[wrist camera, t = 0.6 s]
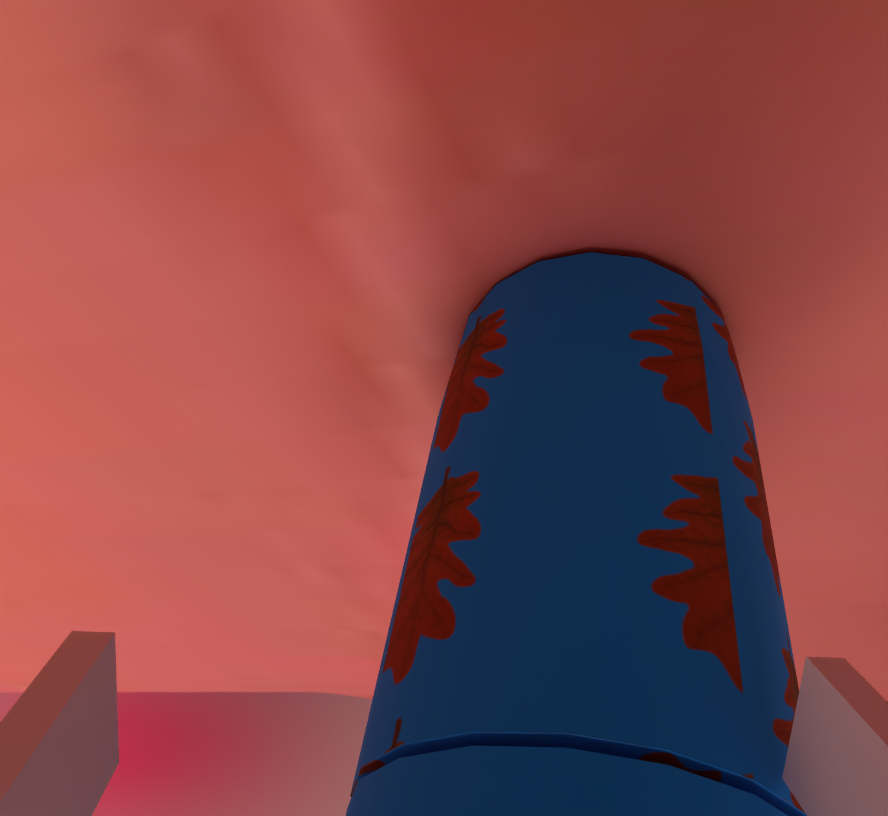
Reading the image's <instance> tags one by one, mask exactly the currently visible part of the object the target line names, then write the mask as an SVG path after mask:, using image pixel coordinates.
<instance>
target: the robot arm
mask: <svg viewBox="0 0 888 816" xmlns="http://www.w3.org/2000/svg"><path fill="white" fill-rule="evenodd" d="M118 763H119V748H118V717H117V684H116V652H115V633H113V632H84V631H72V632H71V633H70V634H69V635H68V637H67V638H66V639H65V641H64V642H63V643H62V644H61V646H60V647H59V648H58V650H57V651H56V652H55V653H54V655H53V656H52V657H51V658H50V660H49V661H48V662H47V664H46V665H45V666H44V667H43V669H42V670H41V671H40V672H39V674H38V675H37V676H36V678H35V679H34V680H33V681H32V683H31V684H30V685H29V686H28V688H27V689H26V690H25V692H24V693H23V694H22V696H21V697H20V698H19V699H18V700H17V702H16V703H15V704H14V706H13V707H12V708H11V709H10V711H9V712H8V713H7V715H6V716H5V717H4V718H3V720H2V721H1V722H0V816H92V814H93V812H94V810H95V808H96V806H97V804H98V802H99V800H100V798H101V796H102V794H103V793H104V790H105V788H106V787H107V785H108V783H109V781H110V779H111V777H112V775H113V773H114V771H115V769H116V767H117V765H118ZM782 779H783V780H784V782H785V783H786V785H787V786H788V788H789V789H790V791H791V792H792V794H793V795H794V797H795V798H796V800H797V801H798V803H799V804H800V806H801V807H802V809H803V810H804V812H805V813H806V815H807V816H888V702H887V701H886V700H885V699H884V698H883V697H882V696H881V695H880V694H879V693H878V692H877V691H876V690H875V689H874V688H873V687H872V686H871V685H870V684H869V683H868V682H867V681H866V680H865V679H864V678H863V677H862V676H861V675H860V674H859V673H858V672H857V671H856V670H855V669H854V668H853V667H852V666H851V665H850V663H849V662H848V661H847V660H846V659H845V658H829V657H806V660H805V665H804V670H803V675H802V680H801V686H800V691H799V696H798V701H797V706H796V711H795V716H794V721H793V726H792V731H791V736H790V741H789V746H788V752H787V757H786V762H785V767H784V772H783V777H782Z"/></svg>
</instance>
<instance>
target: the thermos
mask: <svg viewBox="0 0 888 816" xmlns="http://www.w3.org/2000/svg"><path fill="white" fill-rule="evenodd" d="M798 696H799V688H798V682H797V677H796V671H795V665H794V659H793V653H792V647H791V641H790V636H789V630H788V624H787V618H786V612H785V606H784V600H783V595H782V589H781V583H780V577H779V571H778V565H777V560H776V554H775V548H774V542H773V536H772V530H771V524H770V519H769V513H768V507H767V501H766V495H765V489H764V483H763V478H762V472H761V466H760V460H759V454H758V448H757V442H756V437H755V431H754V425H753V420H752V416H751V412H750V408H749V404H748V400H747V396H746V393H745V389H744V385H743V381H742V377H741V373H740V369H739V365H738V361H737V358H736V354H735V350H734V347H733V344H732V341H731V338H730V335H729V332H728V330H727V327H726V324H725V321H724V318H723V316H722V313H721V311H720V310H719V309H718V308H717V307H716V306H715V305H714V304H713V303H712V302H711V301H710V300H709V299H708V298H707V297H706V296H705V295H704V293H703V292H702V291H701V290H700V289H699V288H698V287H697V286H696V285H695V284H694V283H693V282H692V281H691V280H690V279H688V278H686V277H683V276H681V275H679V274H677V273H675V272H672V271H670V270H668V269H666V268H664V267H661V266H659V265H657V264H655V263H653V262H650V261H648V260H646V259H644V258H637V257H628V256H619V255H611V254H602V253H594V252H588V253H582V254H577V255H571V256H566V257H560V258H555V259H549V260H544V261H539V262H537V263H535V264H533V265H531V266H529V267H527V268H525V269H524V270H522V271H520V272H518V273H516V274H514V275H512V276H511V277H509V278H507V279H505V280H503V281H501V282H499V283H497V284H496V285H495V286H494V288H493V289H492V290H491V291H490V292H489V293H488V294H487V296H486V297H485V298H484V299H483V300H482V301H481V302H480V304H479V305H478V306H477V307H476V308H475V309H474V311H473V312H472V313H471V314H470V315H469V318H468V321H467V324H466V328H465V331H464V334H463V337H462V340H461V344H460V347H459V350H458V353H457V356H456V359H455V363H454V366H453V369H452V372H451V375H450V379H449V382H448V385H447V388H446V392H445V395H444V399H443V402H442V405H441V409H440V412H439V415H438V419H437V423H436V427H435V432H434V436H433V440H432V445H431V449H430V453H429V458H428V462H427V466H426V471H425V475H424V479H423V484H422V488H421V492H420V497H419V501H418V505H417V510H416V514H415V518H414V523H413V527H412V531H411V536H410V540H409V544H408V549H407V553H406V557H405V562H404V566H403V570H402V575H401V579H400V583H399V588H398V592H397V596H396V601H395V605H394V609H393V614H392V618H391V622H390V627H389V631H388V635H387V640H386V644H385V648H384V653H383V657H382V661H381V665H380V670H379V674H378V678H377V683H376V687H375V691H374V696H373V700H372V704H371V709H370V713H369V717H368V722H367V726H366V730H365V735H364V739H363V743H362V748H361V752H360V756H359V761H358V765H357V769H356V774H355V778H354V782H353V787H352V791H351V795H350V796H351V800H350V803H349V805H348V808H347V813H346V816H807V815H806V813H805V812H804V810H803V809H802V807H801V806H800V804H799V803H798V801H797V800H796V798H795V797H794V795H793V794H792V792H791V791H790V789H789V788H788V786H787V785H786V783H785V782H784V780H783V779H782V777H783V772H784V767H785V762H786V757H787V752H788V746H789V741H790V736H791V731H792V726H793V721H794V716H795V711H796V706H797V701H798Z"/></svg>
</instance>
